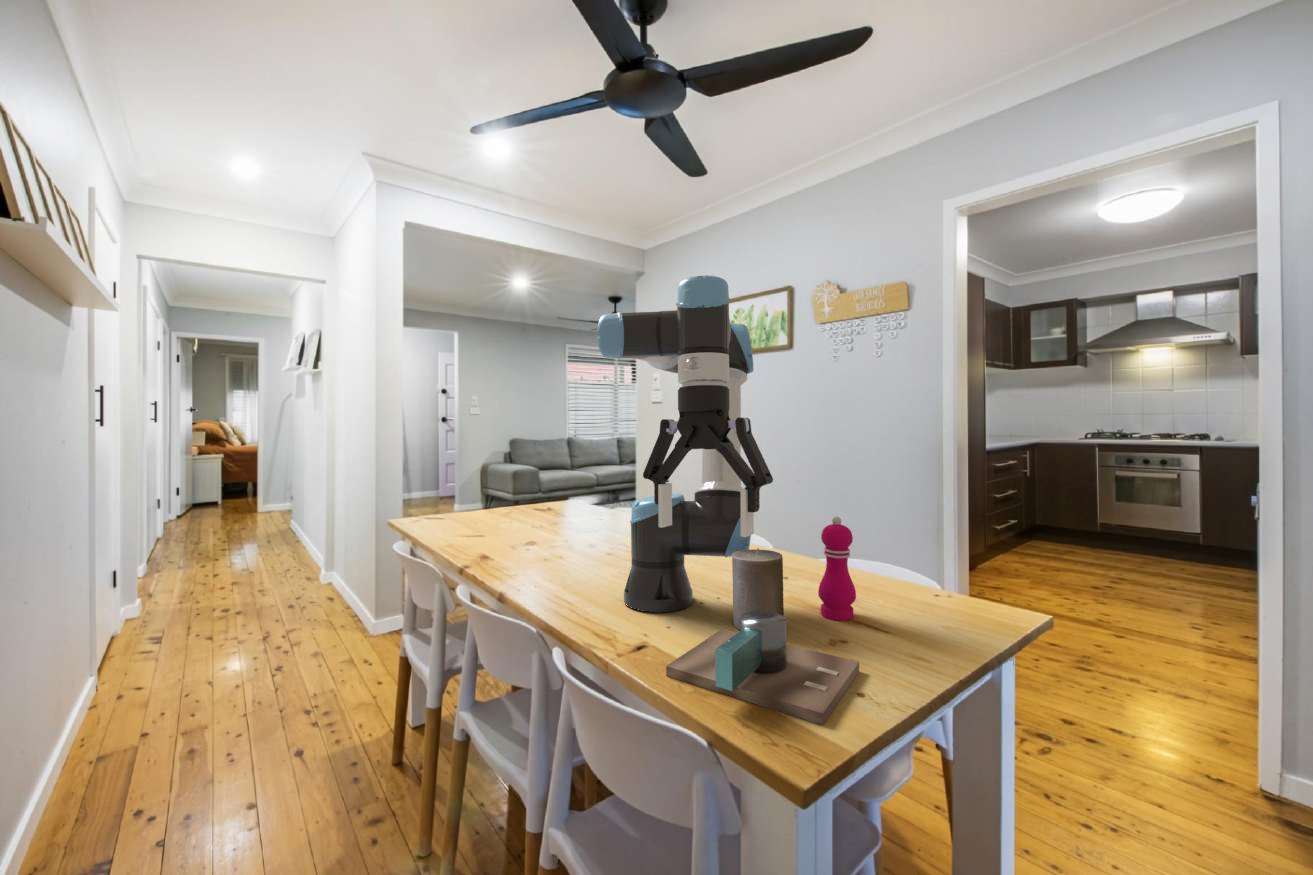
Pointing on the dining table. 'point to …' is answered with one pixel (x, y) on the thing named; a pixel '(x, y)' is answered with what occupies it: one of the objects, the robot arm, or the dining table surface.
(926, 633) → the dining table surface
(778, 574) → the pillar candle
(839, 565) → the pepper mill
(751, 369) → the robot arm
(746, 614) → the cylinder with teal slab
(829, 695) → the base
